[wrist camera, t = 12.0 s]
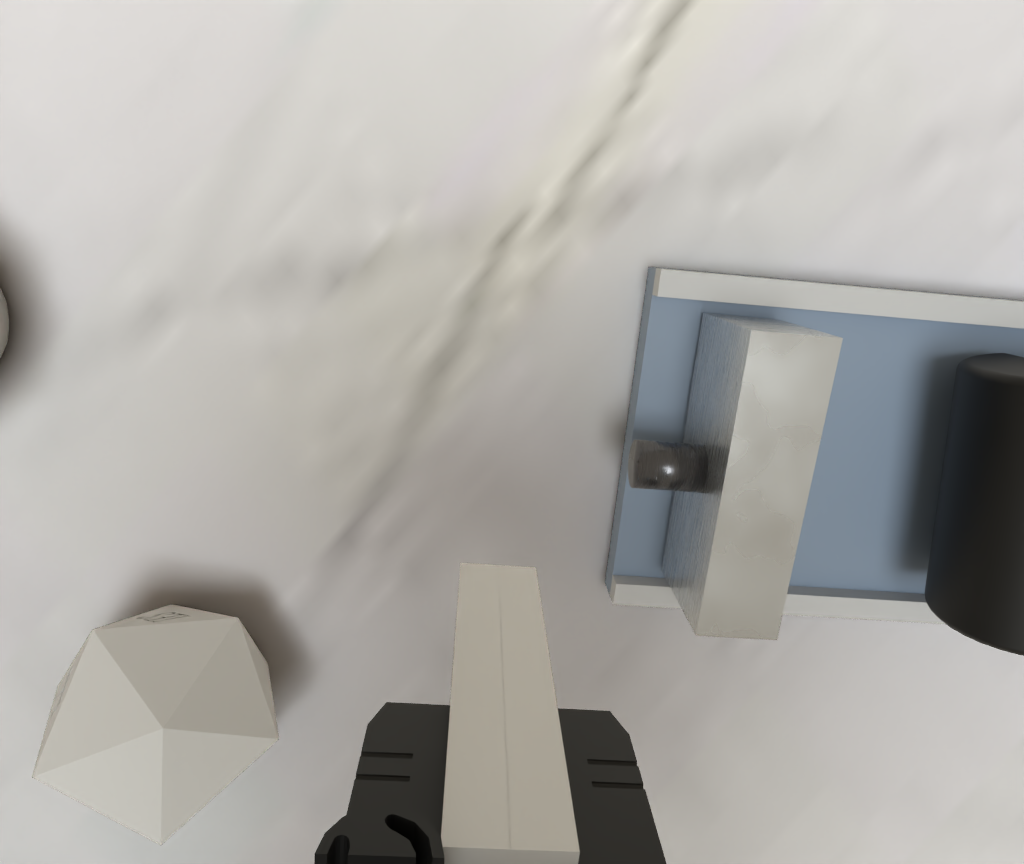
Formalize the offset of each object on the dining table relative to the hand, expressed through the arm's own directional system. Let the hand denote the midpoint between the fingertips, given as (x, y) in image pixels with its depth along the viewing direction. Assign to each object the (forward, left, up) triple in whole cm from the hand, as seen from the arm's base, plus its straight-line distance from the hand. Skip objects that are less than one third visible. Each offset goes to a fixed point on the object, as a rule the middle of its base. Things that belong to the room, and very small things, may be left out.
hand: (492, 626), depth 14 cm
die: (-12, +12, -16) cm, 23 cm away
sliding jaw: (0, -8, -14) cm, 16 cm away
